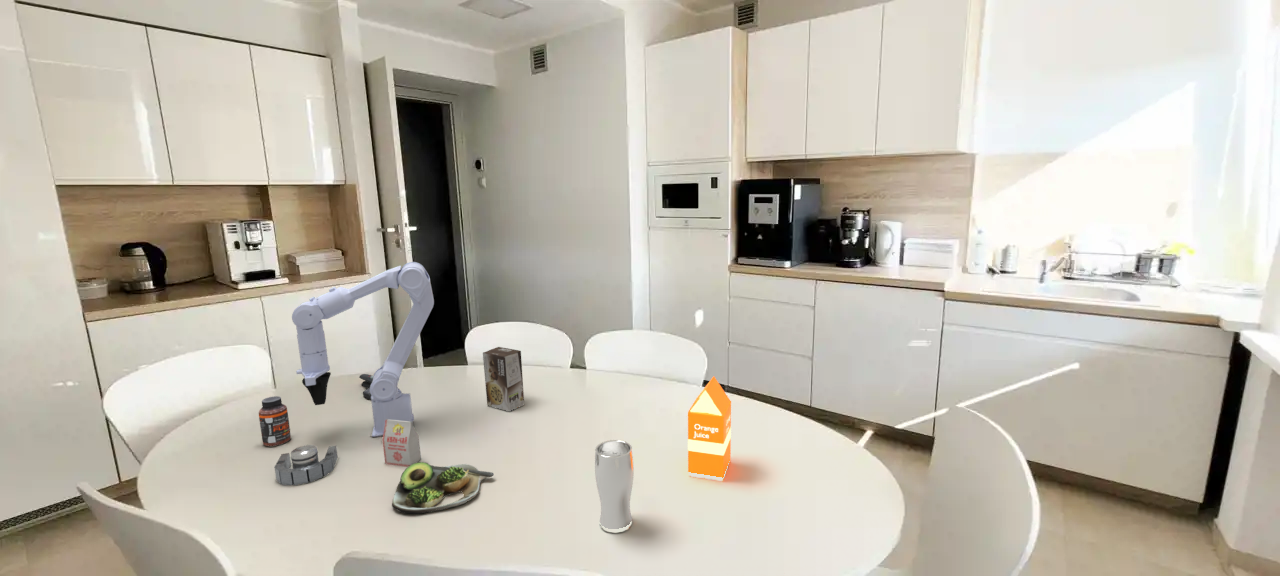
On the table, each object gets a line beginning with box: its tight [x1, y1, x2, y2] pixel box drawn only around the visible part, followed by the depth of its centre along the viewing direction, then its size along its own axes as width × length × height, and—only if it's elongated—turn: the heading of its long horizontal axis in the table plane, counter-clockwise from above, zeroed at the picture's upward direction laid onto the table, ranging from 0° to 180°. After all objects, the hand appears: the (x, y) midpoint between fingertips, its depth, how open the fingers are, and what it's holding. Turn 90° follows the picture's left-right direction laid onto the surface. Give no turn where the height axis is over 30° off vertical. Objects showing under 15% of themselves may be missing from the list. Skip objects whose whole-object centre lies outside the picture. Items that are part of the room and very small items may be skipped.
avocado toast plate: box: [391, 461, 494, 515], centre depth 115 cm, size 19×18×5 cm
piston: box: [290, 444, 320, 469], centre depth 123 cm, size 5×5×5 cm
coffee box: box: [482, 346, 525, 412], centre depth 157 cm, size 9×6×16 cm
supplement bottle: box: [258, 395, 292, 447], centre depth 137 cm, size 6×6×11 cm
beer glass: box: [594, 439, 635, 529], centre depth 101 cm, size 7×7×15 cm
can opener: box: [358, 373, 374, 400], centre depth 171 cm, size 18×7×6 cm, turn 40°
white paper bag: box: [381, 419, 422, 467], centre depth 126 cm, size 4×7×10 cm, turn 75°
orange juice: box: [687, 375, 732, 478], centre depth 119 cm, size 8×9×20 cm
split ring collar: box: [274, 445, 339, 486], centre depth 123 cm, size 11×10×3 cm
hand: (320, 403), depth 137 cm, fingers closed
